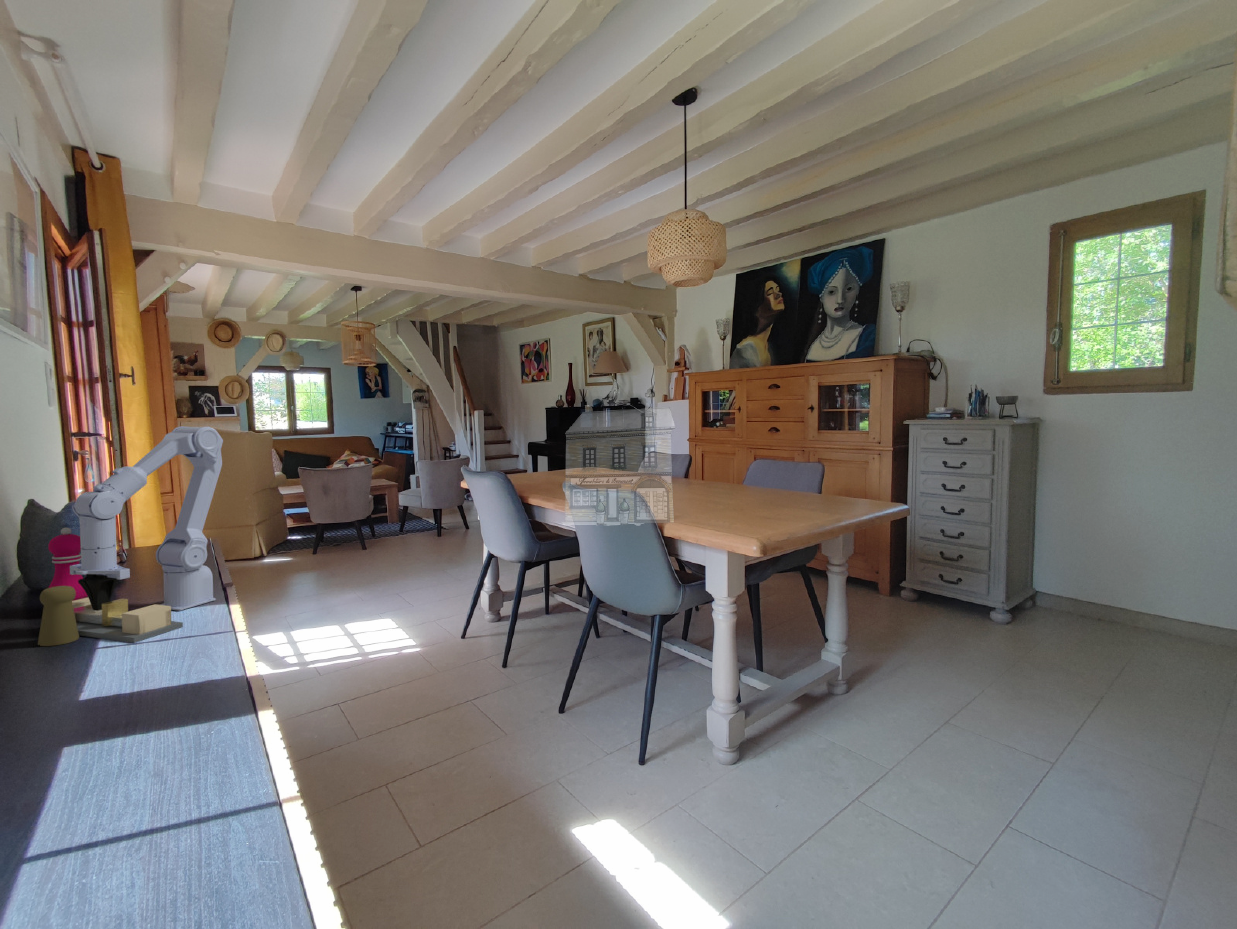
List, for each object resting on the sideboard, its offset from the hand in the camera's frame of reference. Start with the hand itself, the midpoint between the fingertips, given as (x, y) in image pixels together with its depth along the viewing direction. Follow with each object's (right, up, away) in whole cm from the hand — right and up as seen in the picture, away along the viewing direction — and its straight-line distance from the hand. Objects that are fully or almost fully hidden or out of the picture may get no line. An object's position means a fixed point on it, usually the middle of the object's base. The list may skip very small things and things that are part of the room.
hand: (100, 609), depth 124 cm
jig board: (+4, -4, -1) cm, 6 cm away
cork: (-1, -5, -8) cm, 10 cm away
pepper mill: (-16, -3, +9) cm, 19 cm away
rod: (0, -3, 0) cm, 3 cm away
